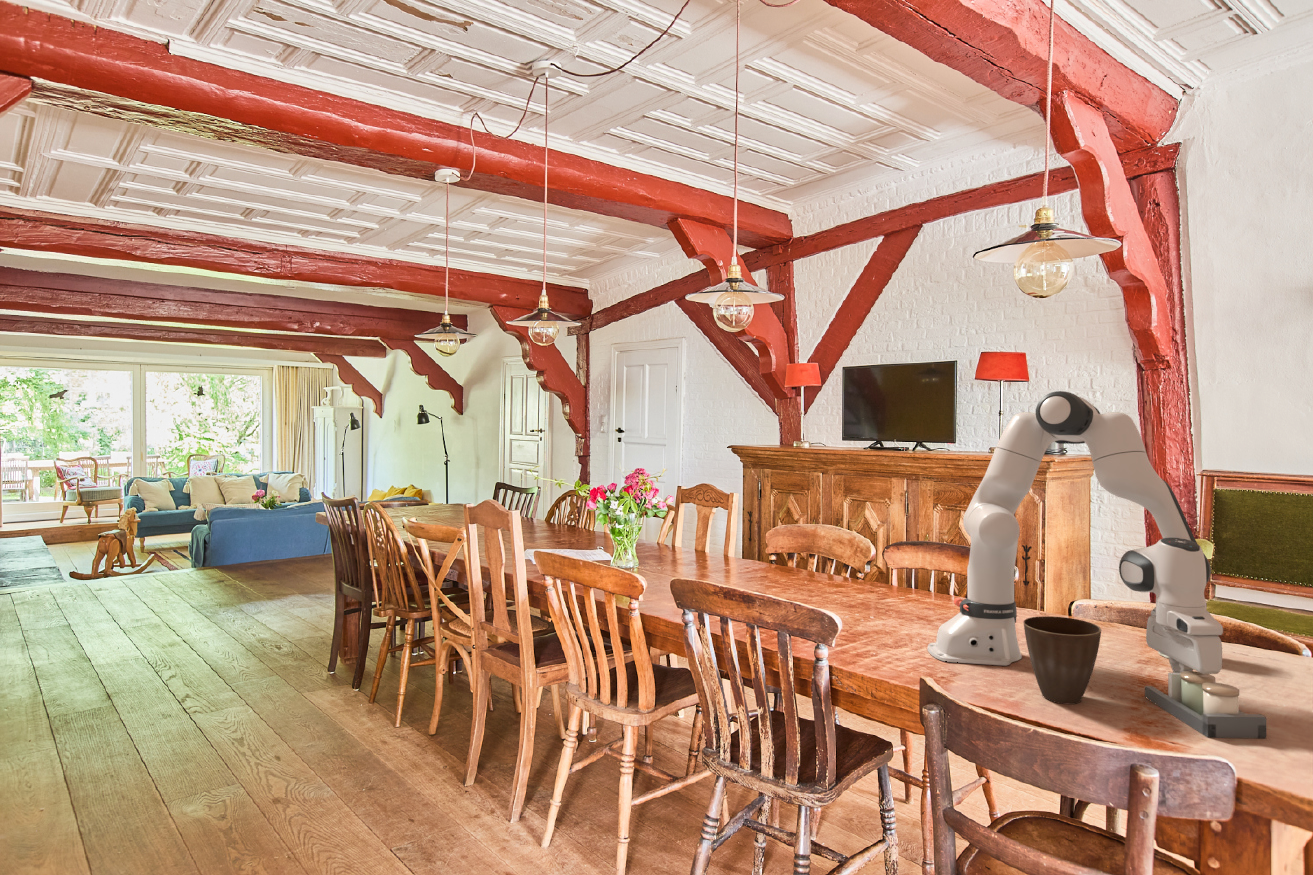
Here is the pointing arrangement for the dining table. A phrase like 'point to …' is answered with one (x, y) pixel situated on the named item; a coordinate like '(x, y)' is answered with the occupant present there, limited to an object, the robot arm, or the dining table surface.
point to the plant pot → (1062, 655)
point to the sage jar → (1194, 689)
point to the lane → (1211, 719)
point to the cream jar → (1220, 698)
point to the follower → (1174, 686)
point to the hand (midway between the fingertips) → (1181, 681)
